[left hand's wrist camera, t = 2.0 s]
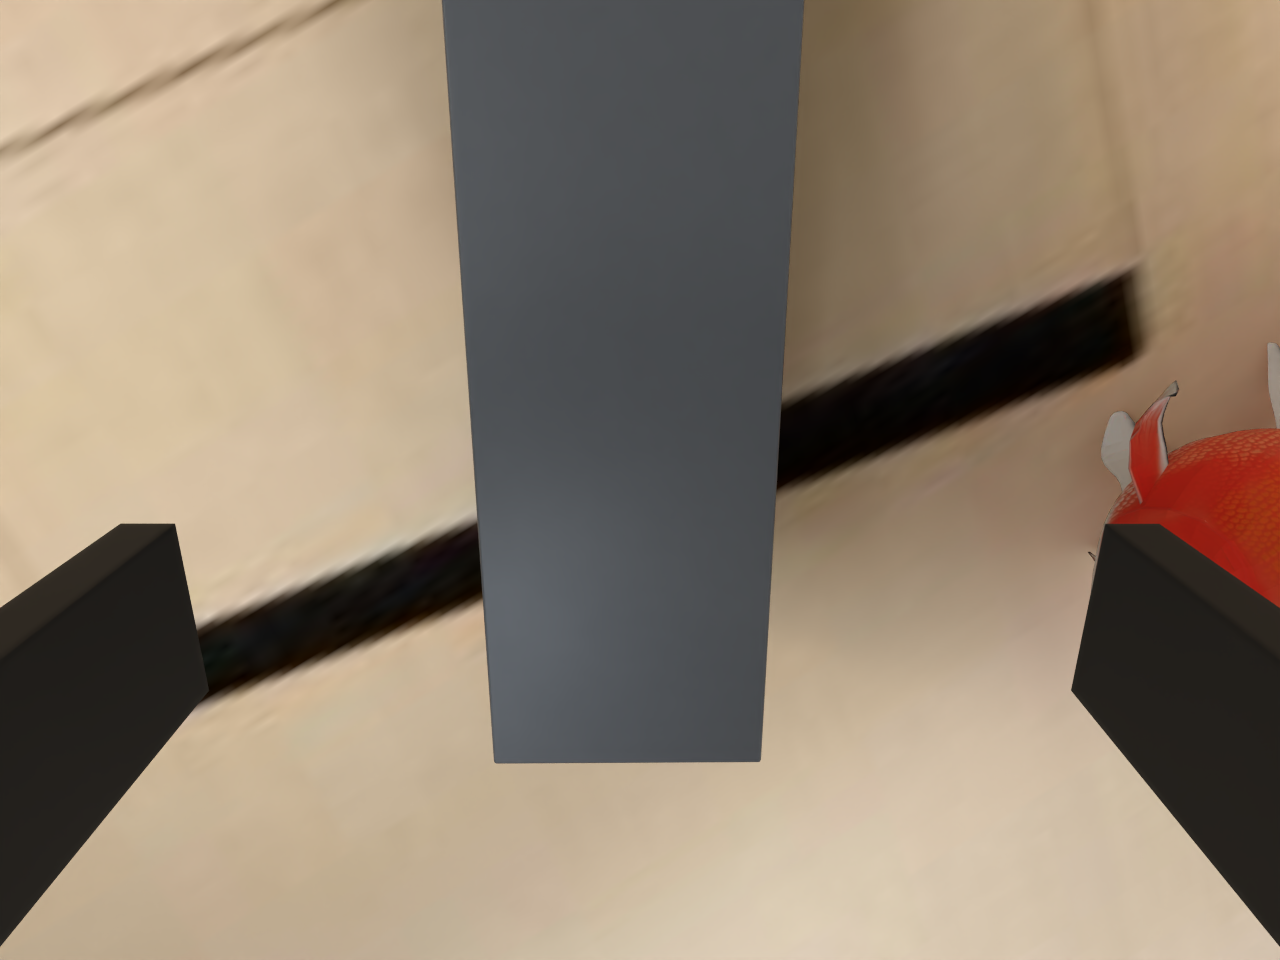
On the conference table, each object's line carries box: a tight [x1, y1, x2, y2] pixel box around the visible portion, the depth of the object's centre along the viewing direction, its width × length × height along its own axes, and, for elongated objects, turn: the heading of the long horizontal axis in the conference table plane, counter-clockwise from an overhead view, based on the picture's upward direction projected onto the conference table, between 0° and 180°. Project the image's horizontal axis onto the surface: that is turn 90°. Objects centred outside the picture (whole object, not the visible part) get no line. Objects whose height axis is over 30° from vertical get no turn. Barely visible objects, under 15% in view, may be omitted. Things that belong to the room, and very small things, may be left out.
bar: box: [442, 0, 804, 763], centre depth 17 cm, size 24×5×10 cm, turn 0°
